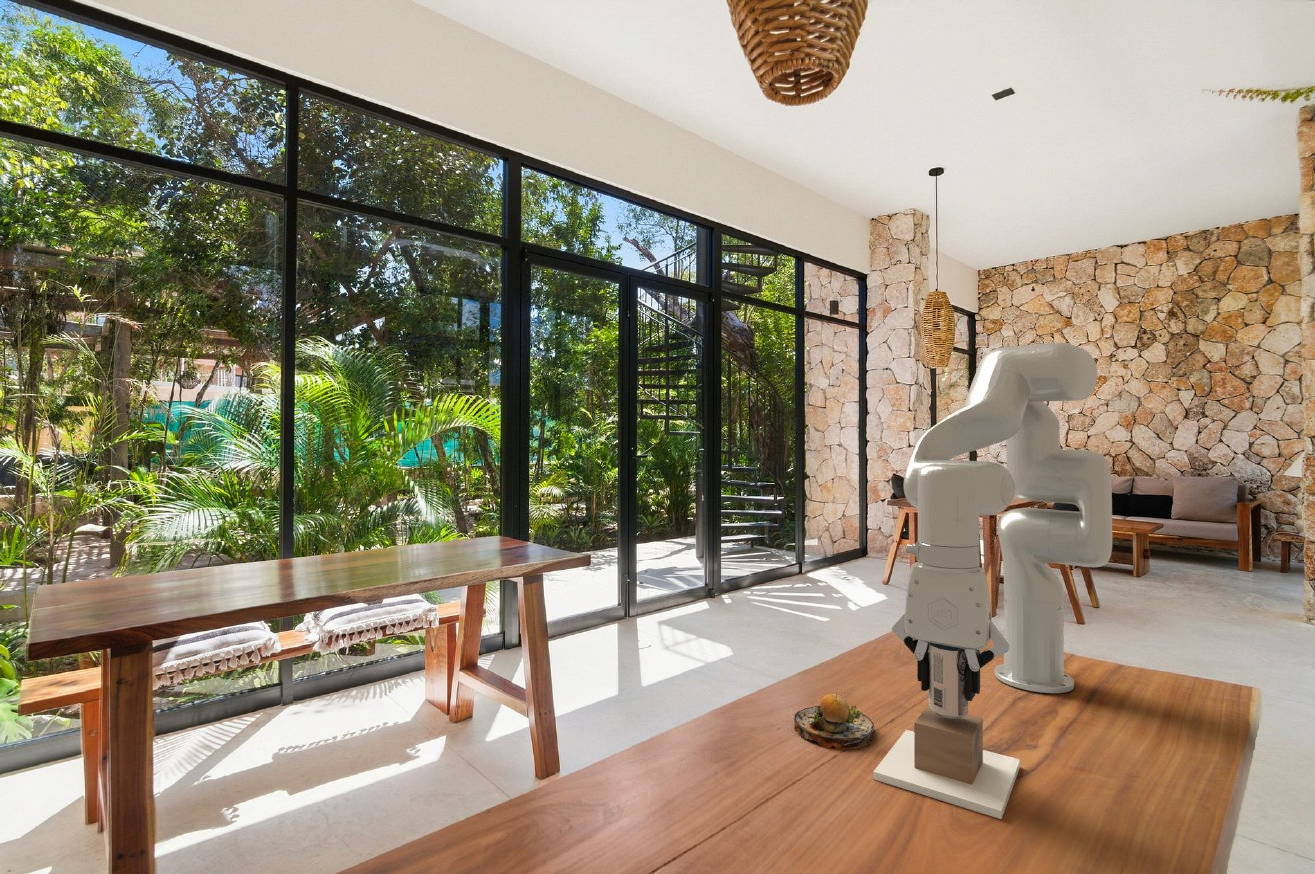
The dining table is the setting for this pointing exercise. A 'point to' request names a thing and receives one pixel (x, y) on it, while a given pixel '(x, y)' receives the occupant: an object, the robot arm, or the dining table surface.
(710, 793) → the dining table surface
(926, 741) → the walnut block
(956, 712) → the beer can
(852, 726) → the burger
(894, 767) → the stone tile
